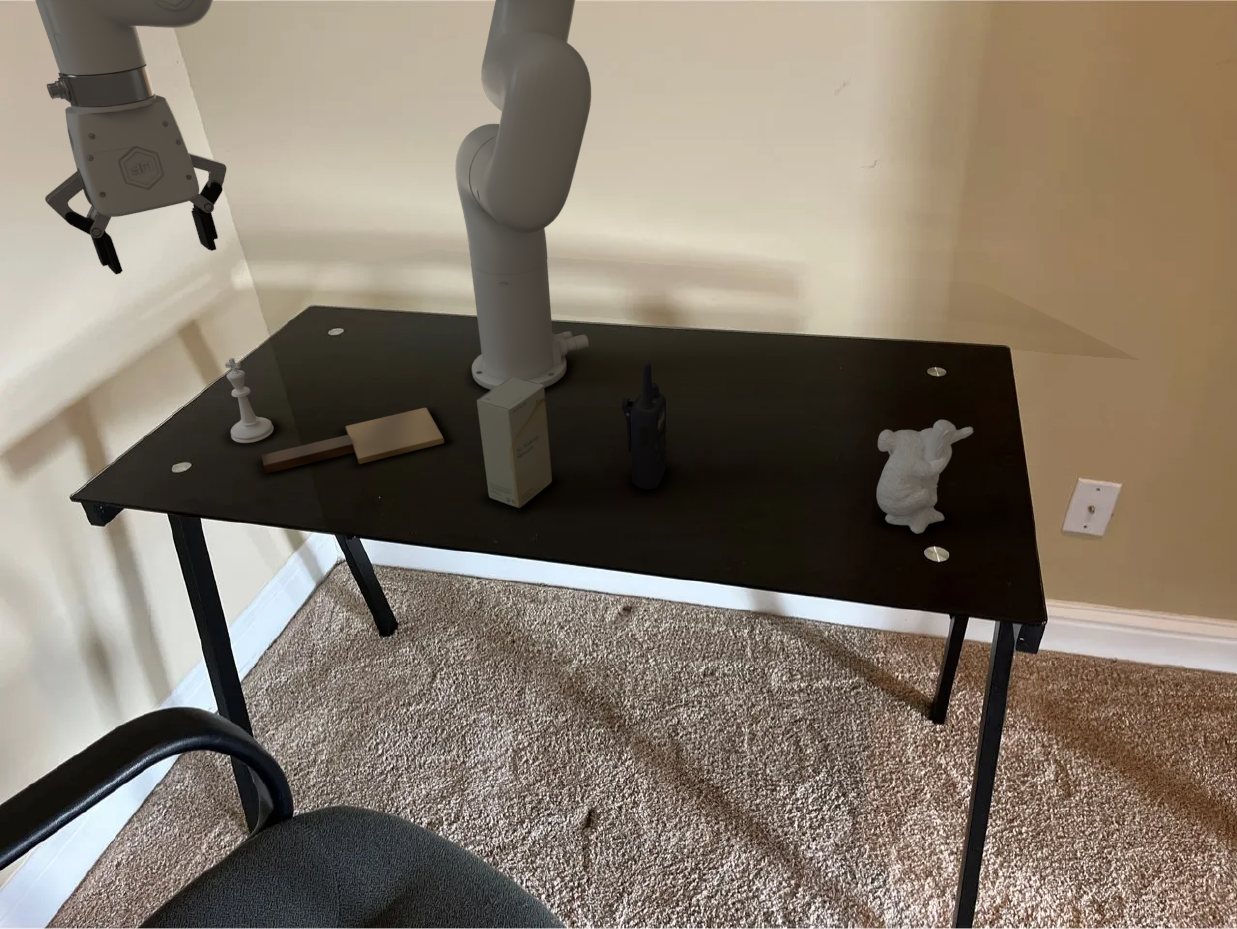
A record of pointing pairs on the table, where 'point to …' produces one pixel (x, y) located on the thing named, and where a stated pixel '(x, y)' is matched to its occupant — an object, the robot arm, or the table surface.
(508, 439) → the cosmetic box
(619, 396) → the table surface
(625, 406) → the two-way radio
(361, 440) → the spatula
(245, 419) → the chess piece
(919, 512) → the koala figurine
